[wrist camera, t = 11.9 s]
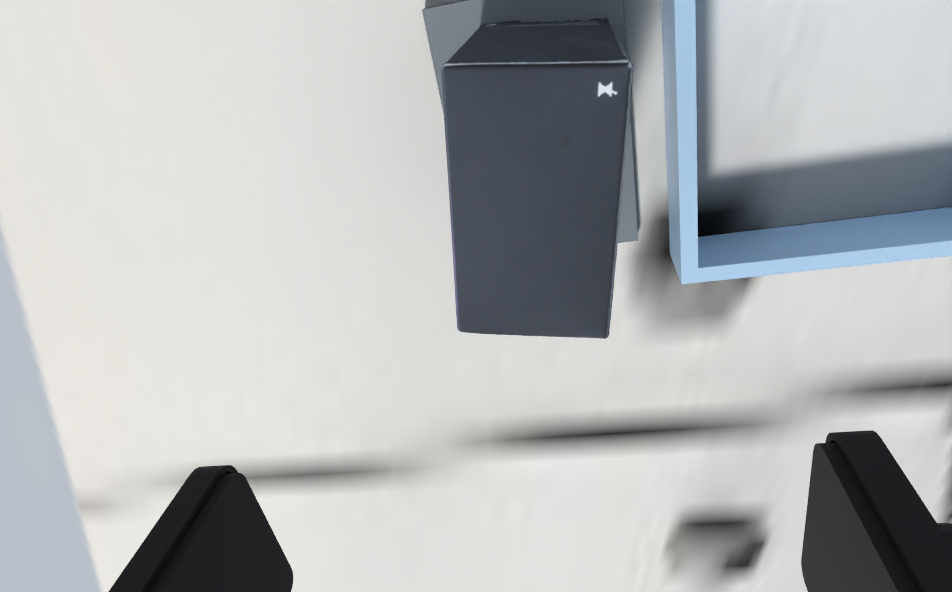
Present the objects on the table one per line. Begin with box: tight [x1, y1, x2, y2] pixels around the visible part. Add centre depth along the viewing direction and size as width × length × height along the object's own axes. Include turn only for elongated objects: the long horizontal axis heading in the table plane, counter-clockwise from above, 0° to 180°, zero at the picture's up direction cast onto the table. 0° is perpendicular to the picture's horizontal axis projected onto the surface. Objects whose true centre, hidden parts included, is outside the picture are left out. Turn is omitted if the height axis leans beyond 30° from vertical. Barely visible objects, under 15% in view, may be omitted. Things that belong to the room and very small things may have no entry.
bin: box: [661, 0, 952, 284], centre depth 27 cm, size 16×16×4 cm
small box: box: [441, 18, 633, 338], centre depth 26 cm, size 11×6×10 cm, turn 2°
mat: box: [422, 0, 638, 243], centre depth 30 cm, size 9×13×1 cm
